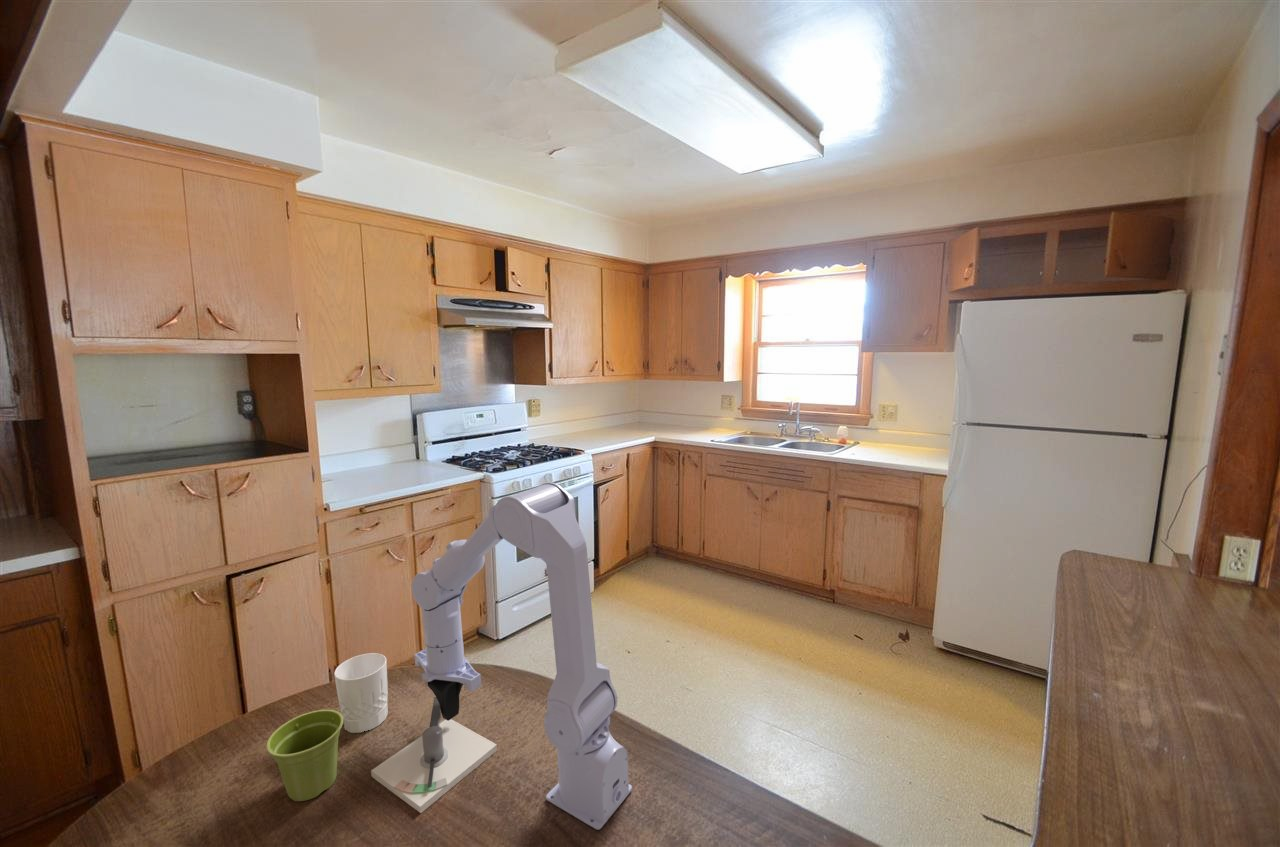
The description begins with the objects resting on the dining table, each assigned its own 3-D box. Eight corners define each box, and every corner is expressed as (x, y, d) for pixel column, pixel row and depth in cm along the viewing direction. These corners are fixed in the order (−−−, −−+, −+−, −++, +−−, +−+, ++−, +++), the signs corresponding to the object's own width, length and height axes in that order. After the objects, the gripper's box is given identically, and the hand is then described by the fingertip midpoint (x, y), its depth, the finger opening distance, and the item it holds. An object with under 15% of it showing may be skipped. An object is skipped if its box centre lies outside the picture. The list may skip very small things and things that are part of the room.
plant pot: (261, 820, 71) (254, 762, 70) (287, 768, 80) (281, 716, 79) (338, 803, 74) (332, 746, 73) (355, 754, 83) (350, 703, 82)
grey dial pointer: (440, 787, 74) (438, 761, 74) (419, 792, 74) (416, 766, 73) (448, 714, 90) (446, 692, 89) (430, 717, 89) (428, 696, 88)
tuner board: (497, 750, 83) (497, 743, 83) (421, 814, 72) (420, 806, 71) (448, 722, 89) (448, 716, 89) (371, 776, 78) (370, 769, 78)
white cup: (329, 727, 89) (323, 672, 88) (372, 700, 96) (367, 648, 95) (359, 742, 85) (353, 685, 84) (401, 712, 92) (396, 659, 91)
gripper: (395, 638, 86) (402, 715, 88) (451, 663, 78) (459, 747, 80) (432, 619, 92) (439, 692, 94) (489, 641, 84) (495, 720, 86)
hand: (450, 716), depth 87 cm, fingers closed, pressing on grey dial pointer
